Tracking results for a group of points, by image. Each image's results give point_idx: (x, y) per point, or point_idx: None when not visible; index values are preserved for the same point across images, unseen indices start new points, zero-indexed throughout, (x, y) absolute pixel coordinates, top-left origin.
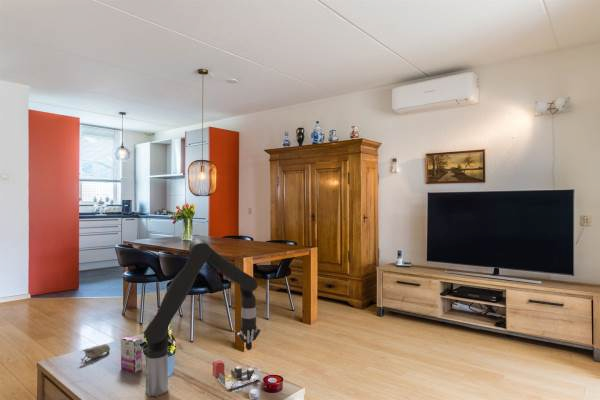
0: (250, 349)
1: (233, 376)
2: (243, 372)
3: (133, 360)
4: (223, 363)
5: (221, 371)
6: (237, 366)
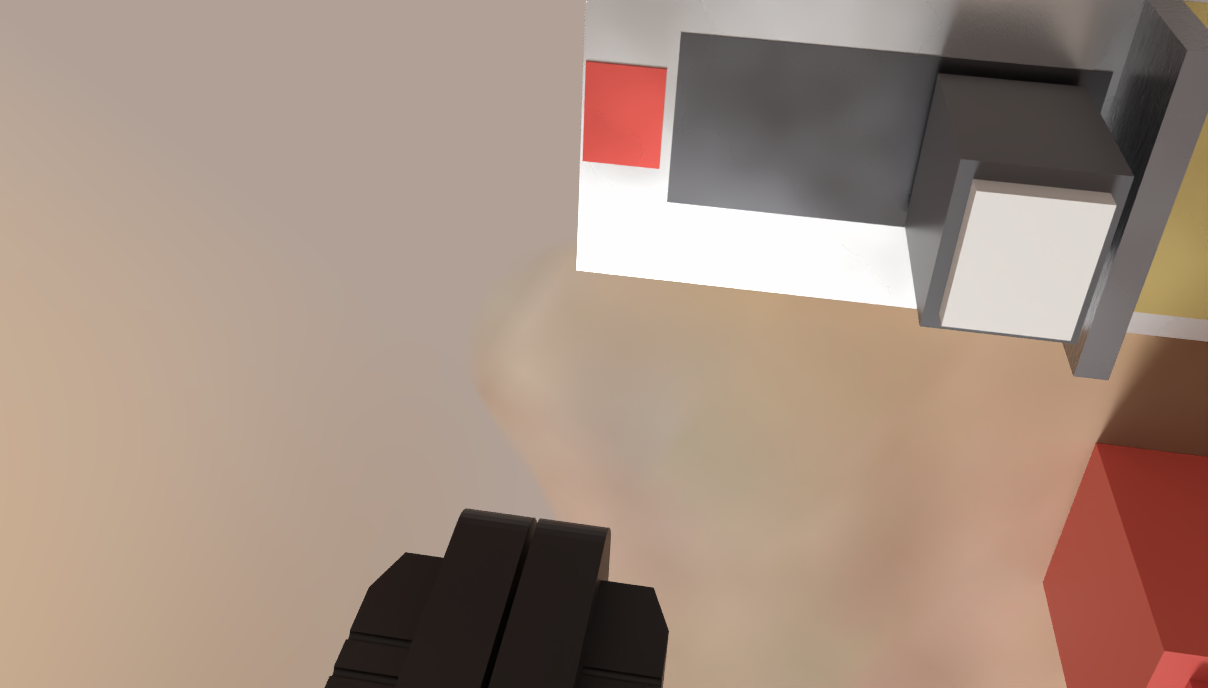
0: (487, 513)
1: None
2: (778, 201)
3: None
4: (1189, 656)
5: (1197, 520)
6: (1000, 322)
